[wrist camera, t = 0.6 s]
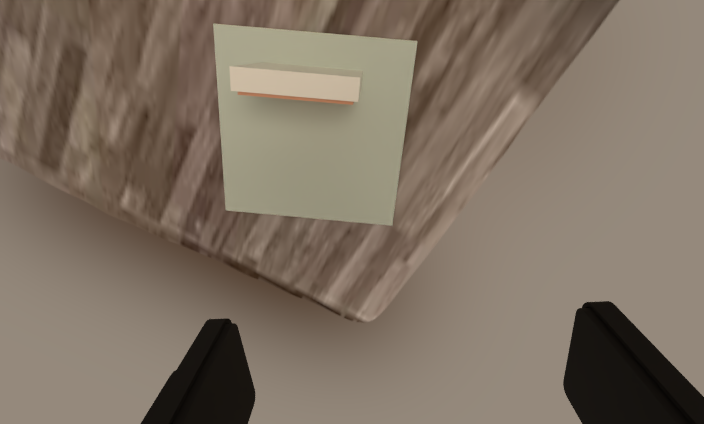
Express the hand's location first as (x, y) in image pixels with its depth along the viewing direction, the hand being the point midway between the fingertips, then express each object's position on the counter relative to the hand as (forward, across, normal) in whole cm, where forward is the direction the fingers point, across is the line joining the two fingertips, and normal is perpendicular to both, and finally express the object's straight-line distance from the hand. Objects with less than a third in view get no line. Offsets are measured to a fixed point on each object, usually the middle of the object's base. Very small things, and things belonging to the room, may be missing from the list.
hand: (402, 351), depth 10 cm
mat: (+32, +7, 0) cm, 33 cm away
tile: (+32, +6, -6) cm, 33 cm away
